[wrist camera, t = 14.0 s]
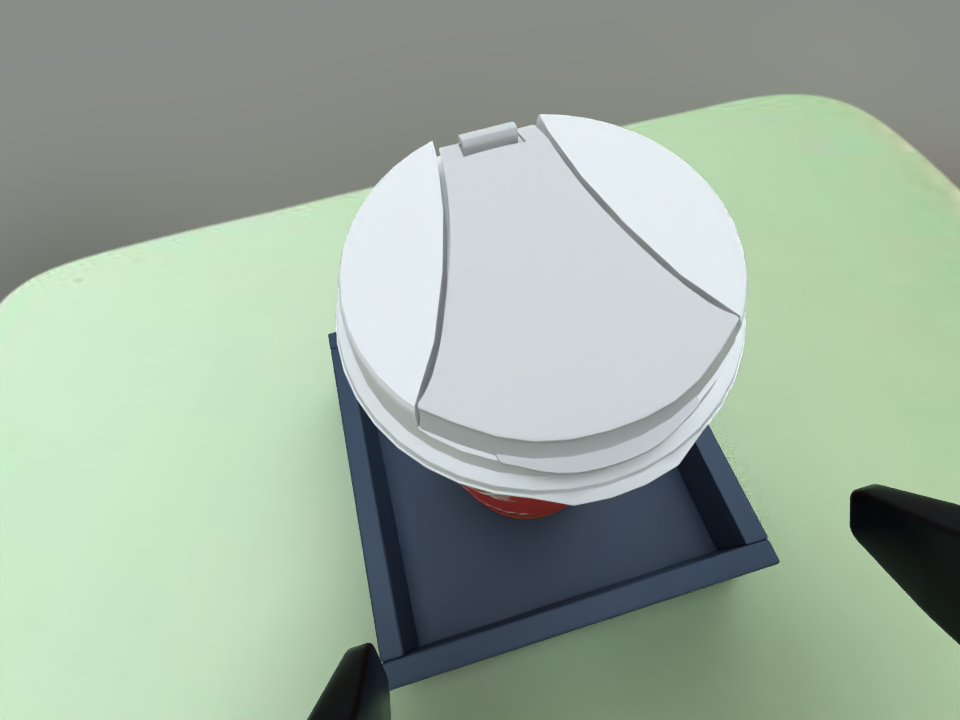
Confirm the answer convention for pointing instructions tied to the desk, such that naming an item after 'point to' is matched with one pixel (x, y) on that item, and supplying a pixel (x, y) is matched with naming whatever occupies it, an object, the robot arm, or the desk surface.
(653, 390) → the paper cup
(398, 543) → the open square box
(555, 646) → the desk surface
